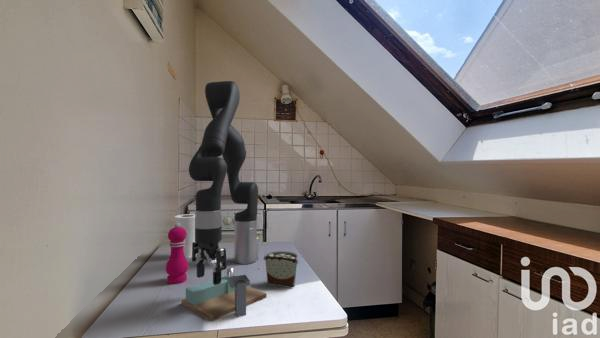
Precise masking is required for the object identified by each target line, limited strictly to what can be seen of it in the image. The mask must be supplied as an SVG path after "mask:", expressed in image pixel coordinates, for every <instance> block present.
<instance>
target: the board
mask: <svg viewBox="0 0 600 338" xmlns="http://www.w3.org/2000/svg"><path fill="white" fill-rule="evenodd" d="M266 298H267V293H266V292H264V291H262V290H259V289H256V288H255V287H252V286H250V285H248V286H246V307H247V306H250V305H252V304H254V303H257V302H260V301H261V300H263V299H266ZM180 304H181V305H183V306H184V307H186V308H188V309H190V310H191V311H193V312H194V313H196V314H198V315H199V316H201V317H203V318H205V319H206V320H208V321H210V322H212V321H215V320H218V319H220V318H222V317H225V316H227V315H230V314H231V313H235V291H234V292H231V293H226V294H224V295H221V296H218V297H215V298H213V299H210V300H207V301H205V302H202V303H199V304H196V305H192V304H191V303H189V302H187V301H186V297H185V298H182V299H181V303H180Z"/></svg>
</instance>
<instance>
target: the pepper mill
mask: <svg viewBox="0 0 600 338" xmlns="http://www.w3.org/2000/svg"><path fill="white" fill-rule="evenodd" d="M167 233H168V234H167V238H168V240H169V243H168V244H169V247H170V255H169V258H168V260H167V262H166V266H165V272H166V274H167V277H166V282H167V283H168V284H170V285H177V284H181V283H182V284H183V283H185V282H186V281H187V279H188V278H187V276H188V275H187V272H188V269H189V262H188V260H187V258H185V255H184V245H185V241H184V239H185V238H186V236H187V233H186V230H185V229H184V228H182V227H180V223H176V222H175V224H174V227H172V228H171V229H169V230H168V232H167Z"/></svg>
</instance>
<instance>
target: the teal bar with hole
mask: <svg viewBox="0 0 600 338" xmlns="http://www.w3.org/2000/svg"><path fill="white" fill-rule="evenodd" d="M233 276H239V275H237V274H235V273H233ZM234 291H235V287H234V288H231V287H230V285H229V283H228V280H227V274H226V275H221V283H220V284H217V285H214V284H213V279H211V280H208V281H205V282H201V283H199V284H195V285H191V286H189V287H185V298H186V301H187V302H189V303H191V304H192V305H196V304H199V303H202V302H205V301H207V300H210V299H213V298H215V297H218V296H221V295H224V294H226V293H231V292H234Z"/></svg>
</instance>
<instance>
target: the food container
mask: <svg viewBox="0 0 600 338" xmlns="http://www.w3.org/2000/svg"><path fill="white" fill-rule="evenodd" d="M263 261H265V269H266V270H265V271H266V273H265V274H266V279H267V280H266V282H267V285H269V284H270V286H276V285H278V286H277V287H283V286H287V287H286V288H290V287H294V288H295V286H296V275H297V266H298V264H299V263H300V260H299V257H298V255H297V253H295V252H291V251H286V250H285V251H281V250H279V251H278V250H277V251H270V252H266V253H265V254H264V256H263Z"/></svg>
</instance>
